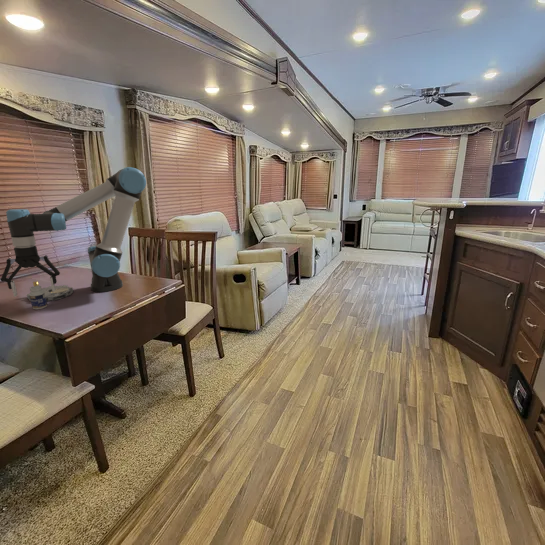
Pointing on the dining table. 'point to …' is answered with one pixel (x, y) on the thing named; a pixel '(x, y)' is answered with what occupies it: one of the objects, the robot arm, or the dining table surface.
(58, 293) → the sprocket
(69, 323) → the dining table surface
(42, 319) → the dining table surface
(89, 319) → the dining table surface
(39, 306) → the pill bottle
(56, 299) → the base plate
